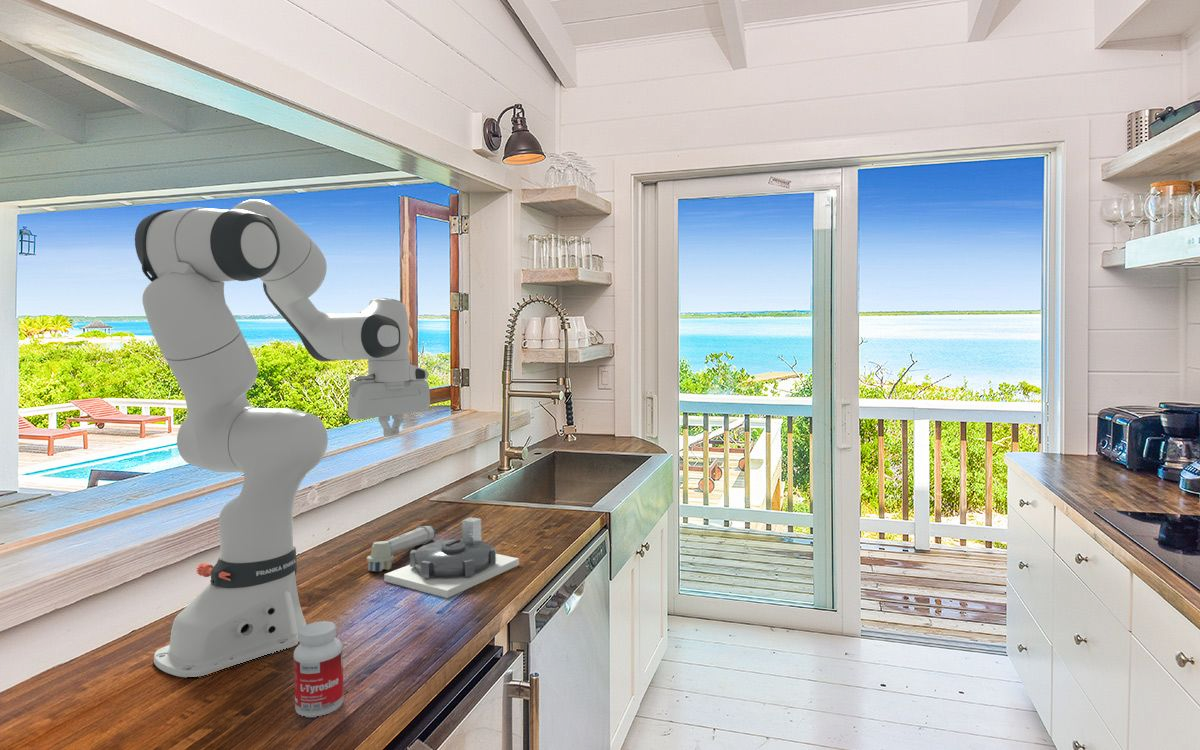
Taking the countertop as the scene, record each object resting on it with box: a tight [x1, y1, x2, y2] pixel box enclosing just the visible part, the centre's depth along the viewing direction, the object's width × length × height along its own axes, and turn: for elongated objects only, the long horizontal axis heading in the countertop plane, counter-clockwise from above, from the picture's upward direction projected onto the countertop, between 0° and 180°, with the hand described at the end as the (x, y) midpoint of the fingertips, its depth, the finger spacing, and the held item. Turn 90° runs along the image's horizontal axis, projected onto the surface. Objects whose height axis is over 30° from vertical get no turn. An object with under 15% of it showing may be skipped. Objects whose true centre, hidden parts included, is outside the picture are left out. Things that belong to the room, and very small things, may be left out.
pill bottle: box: [293, 620, 345, 718], centre depth 92 cm, size 6×6×11 cm
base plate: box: [383, 553, 520, 599], centre depth 144 cm, size 22×18×2 cm
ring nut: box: [409, 517, 497, 578], centre depth 143 cm, size 17×17×8 cm
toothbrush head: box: [366, 525, 436, 572], centre depth 157 cm, size 5×7×25 cm
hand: (391, 435), depth 148 cm, fingers closed
